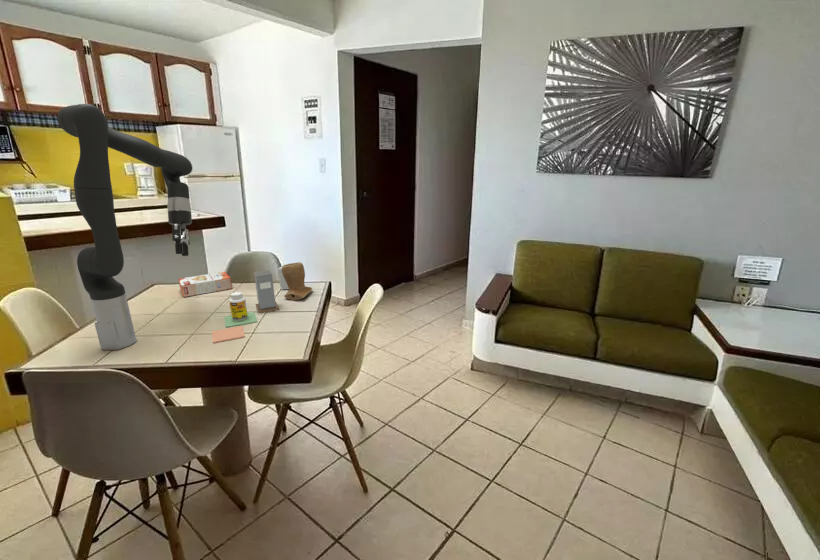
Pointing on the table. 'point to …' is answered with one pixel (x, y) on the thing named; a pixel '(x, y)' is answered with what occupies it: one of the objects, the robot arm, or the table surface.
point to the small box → (282, 280)
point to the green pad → (231, 323)
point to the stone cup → (295, 281)
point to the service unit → (265, 292)
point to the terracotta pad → (228, 334)
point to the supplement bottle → (238, 306)
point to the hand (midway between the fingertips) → (182, 255)
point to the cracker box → (204, 284)
